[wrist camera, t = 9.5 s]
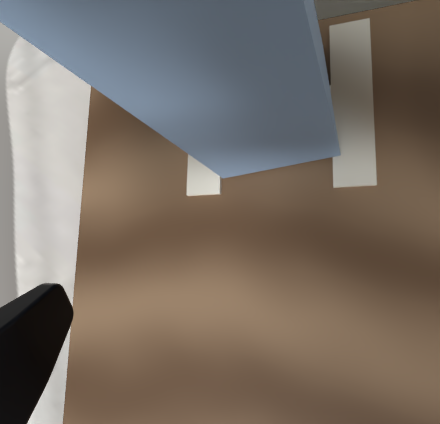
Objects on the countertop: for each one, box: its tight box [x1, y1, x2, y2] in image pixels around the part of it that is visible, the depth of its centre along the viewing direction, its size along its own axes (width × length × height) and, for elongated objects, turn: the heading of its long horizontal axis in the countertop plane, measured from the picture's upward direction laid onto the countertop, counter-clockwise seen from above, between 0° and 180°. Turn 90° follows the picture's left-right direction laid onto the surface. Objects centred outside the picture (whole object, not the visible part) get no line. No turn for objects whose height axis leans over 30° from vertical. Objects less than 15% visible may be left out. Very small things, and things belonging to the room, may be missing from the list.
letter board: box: [63, 0, 440, 424], centre depth 17 cm, size 20×20×1 cm
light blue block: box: [0, 0, 341, 178], centre depth 11 cm, size 5×5×13 cm
